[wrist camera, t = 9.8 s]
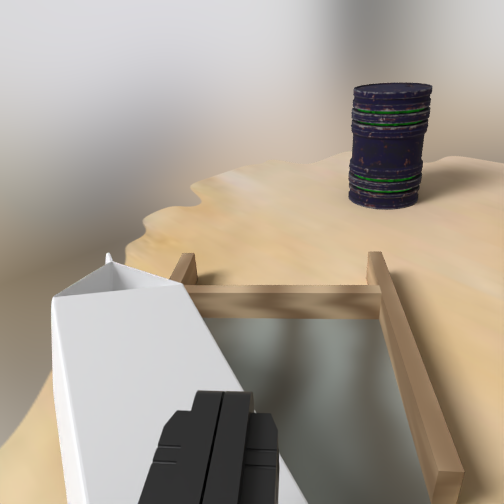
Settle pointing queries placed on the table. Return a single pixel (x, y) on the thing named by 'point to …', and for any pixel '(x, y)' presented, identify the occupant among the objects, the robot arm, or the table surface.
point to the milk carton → (129, 379)
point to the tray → (336, 385)
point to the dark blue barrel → (388, 144)
